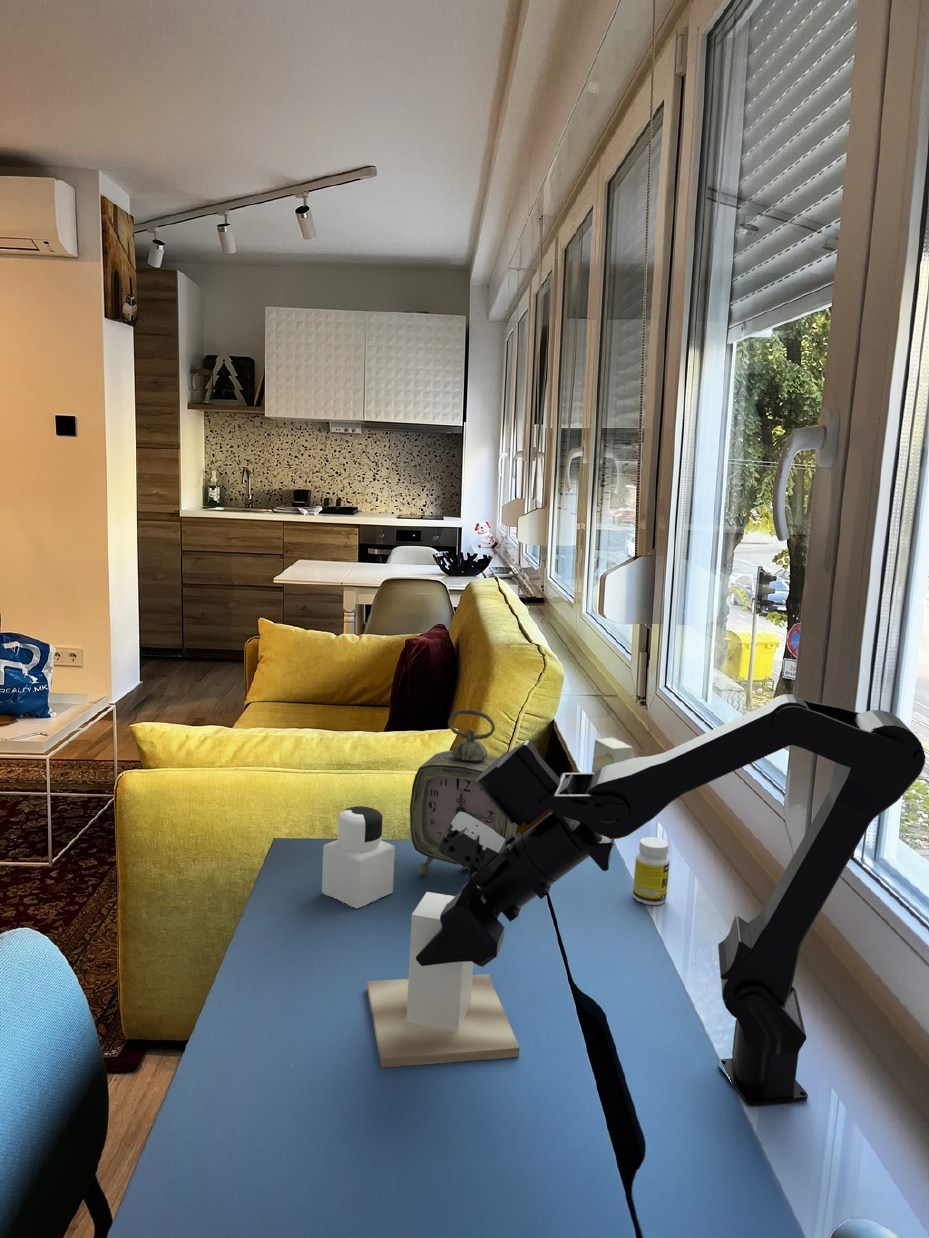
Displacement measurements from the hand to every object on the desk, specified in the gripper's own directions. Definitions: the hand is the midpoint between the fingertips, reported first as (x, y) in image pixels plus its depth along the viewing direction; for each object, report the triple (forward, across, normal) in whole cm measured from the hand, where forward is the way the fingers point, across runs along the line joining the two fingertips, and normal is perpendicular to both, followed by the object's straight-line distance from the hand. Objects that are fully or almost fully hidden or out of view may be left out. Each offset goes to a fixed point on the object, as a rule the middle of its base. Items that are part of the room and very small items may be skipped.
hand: (430, 940), depth 97 cm
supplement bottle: (-9, -38, +22) cm, 45 cm away
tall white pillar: (+5, 0, +7) cm, 8 cm away
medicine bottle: (+19, -26, -6) cm, 32 cm away
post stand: (+5, 0, +7) cm, 9 cm away
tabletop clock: (+10, -37, +3) cm, 38 cm away
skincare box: (-3, -74, +16) cm, 76 cm away
